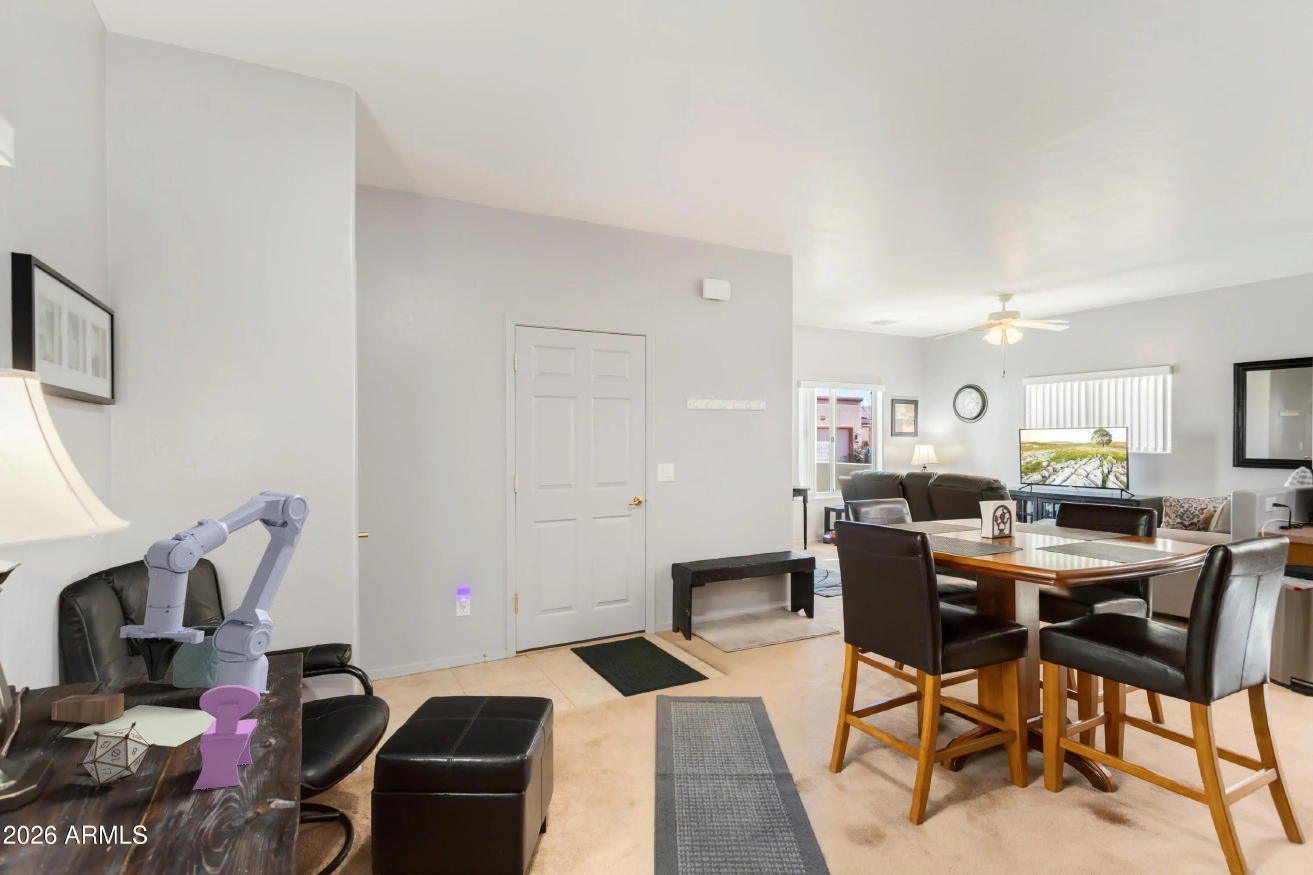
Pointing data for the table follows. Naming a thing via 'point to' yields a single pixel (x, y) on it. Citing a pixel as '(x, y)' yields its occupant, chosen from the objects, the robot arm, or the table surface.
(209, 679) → the green cylindrical pot
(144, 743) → the game die
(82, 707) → the walnut block
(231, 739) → the toy chair
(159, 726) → the board
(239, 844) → the table surface
